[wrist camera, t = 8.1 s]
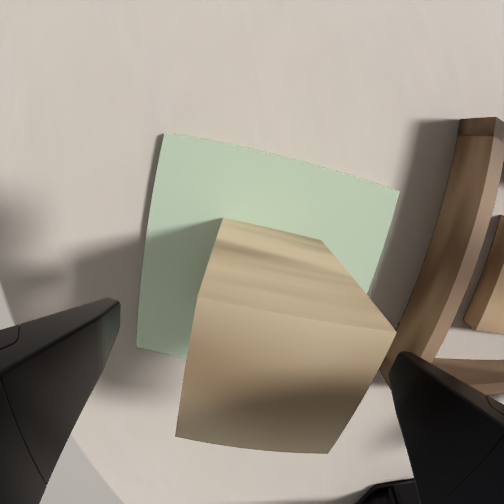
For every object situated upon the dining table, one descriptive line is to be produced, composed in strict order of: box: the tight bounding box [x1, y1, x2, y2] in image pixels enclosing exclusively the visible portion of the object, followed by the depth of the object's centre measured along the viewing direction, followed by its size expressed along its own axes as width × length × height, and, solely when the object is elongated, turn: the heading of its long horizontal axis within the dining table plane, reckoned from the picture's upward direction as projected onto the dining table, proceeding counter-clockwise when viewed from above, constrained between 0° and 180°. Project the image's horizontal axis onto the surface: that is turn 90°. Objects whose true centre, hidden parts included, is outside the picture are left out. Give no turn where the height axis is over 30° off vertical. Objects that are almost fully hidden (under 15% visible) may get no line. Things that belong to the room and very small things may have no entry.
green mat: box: [136, 132, 400, 359], centre depth 15 cm, size 11×11×1 cm
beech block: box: [175, 217, 397, 454], centre depth 11 cm, size 4×4×8 cm
